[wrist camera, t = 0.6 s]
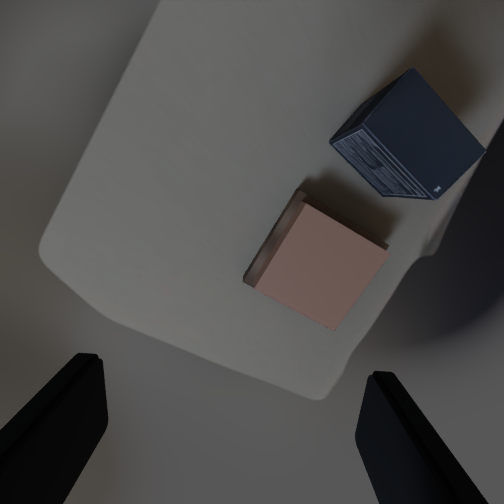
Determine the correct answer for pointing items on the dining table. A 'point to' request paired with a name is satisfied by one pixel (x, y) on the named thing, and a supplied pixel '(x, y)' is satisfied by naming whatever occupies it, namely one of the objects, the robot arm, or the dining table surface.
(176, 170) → the dining table surface
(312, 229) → the terracotta slab
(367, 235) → the walnut slab
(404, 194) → the small box
